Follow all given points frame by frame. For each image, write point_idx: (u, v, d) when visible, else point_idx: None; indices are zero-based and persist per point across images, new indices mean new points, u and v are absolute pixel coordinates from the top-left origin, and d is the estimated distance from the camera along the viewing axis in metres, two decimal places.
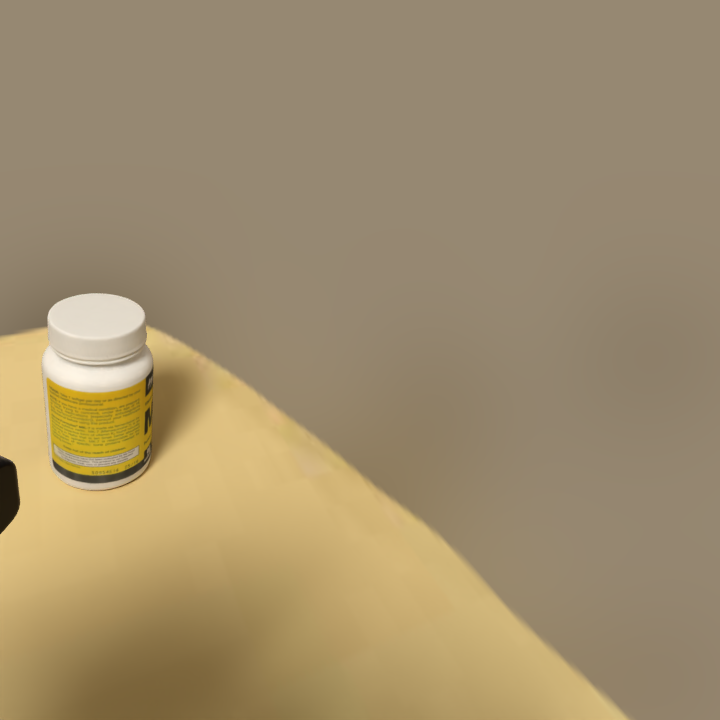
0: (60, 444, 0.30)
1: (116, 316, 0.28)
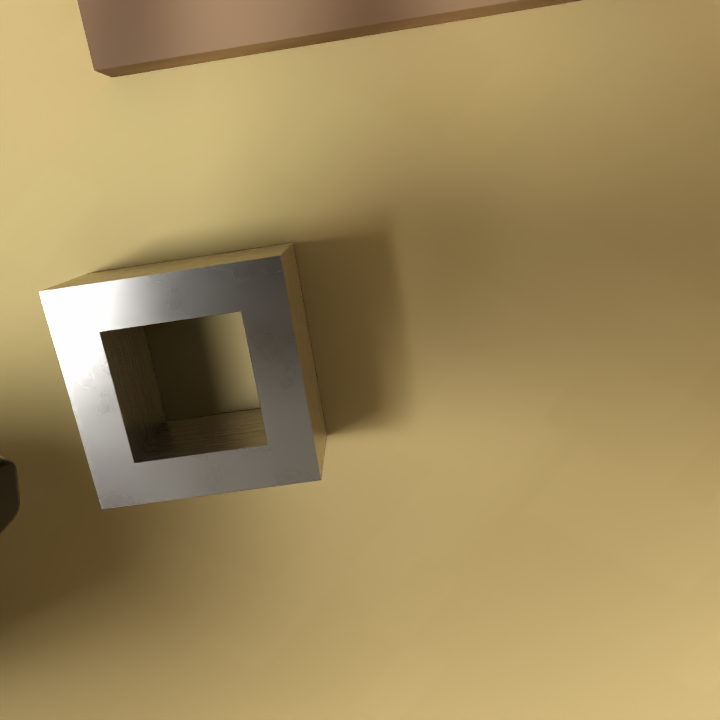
0: None
1: None
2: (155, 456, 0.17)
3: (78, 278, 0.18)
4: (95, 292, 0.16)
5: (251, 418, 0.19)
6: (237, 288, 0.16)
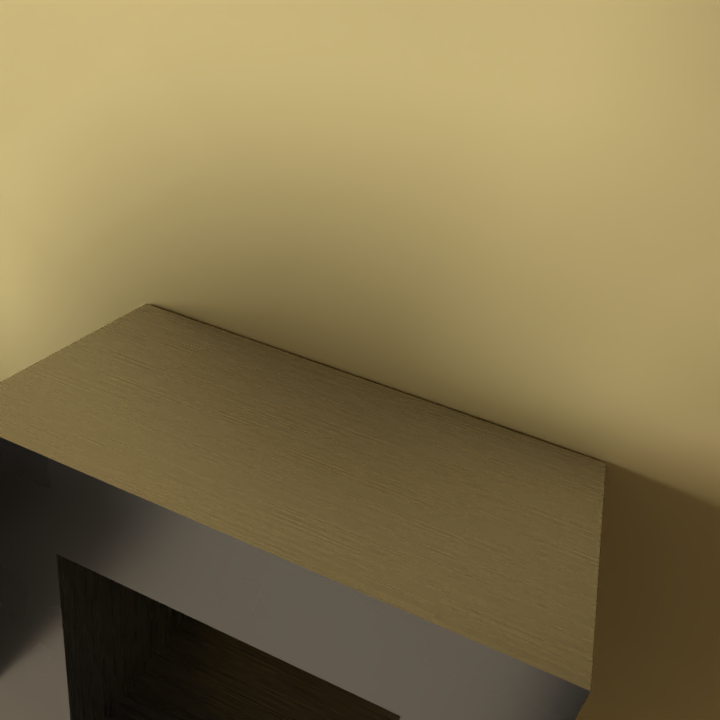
0: None
1: None
2: None
3: (101, 338, 0.08)
4: (65, 482, 0.06)
5: (344, 705, 0.09)
6: (416, 670, 0.05)
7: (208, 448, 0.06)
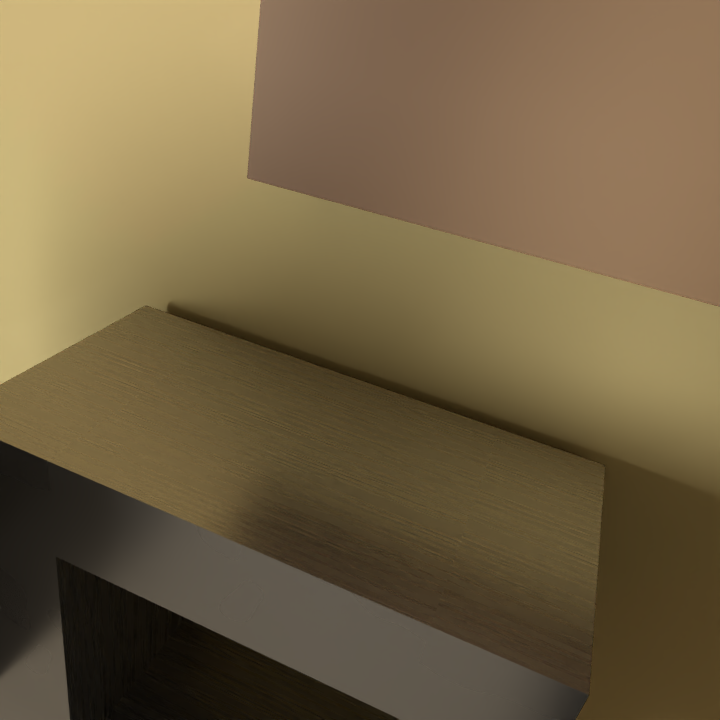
0: None
1: None
2: None
3: (100, 340, 0.08)
4: (64, 484, 0.06)
5: (343, 707, 0.09)
6: (415, 673, 0.05)
7: (207, 451, 0.06)
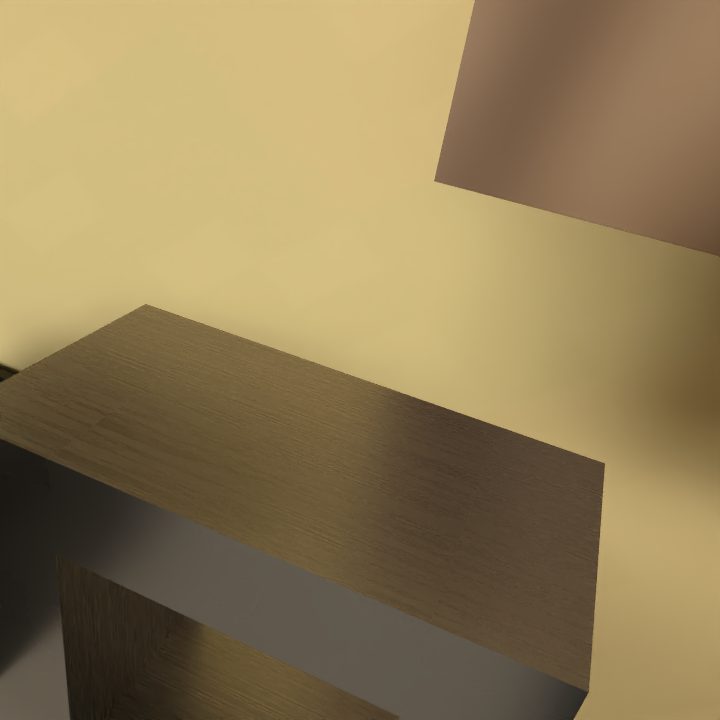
0: None
1: None
2: None
3: (100, 338, 0.08)
4: (64, 483, 0.06)
5: (343, 705, 0.09)
6: (414, 670, 0.05)
7: (207, 449, 0.06)
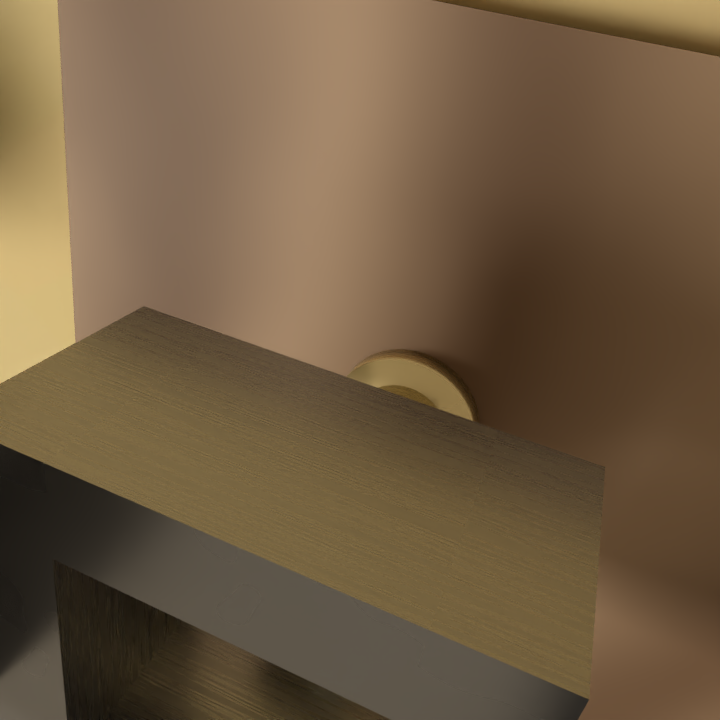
0: None
1: None
2: None
3: (97, 341, 0.08)
4: (61, 486, 0.06)
5: (342, 709, 0.09)
6: (414, 676, 0.05)
7: (205, 453, 0.06)
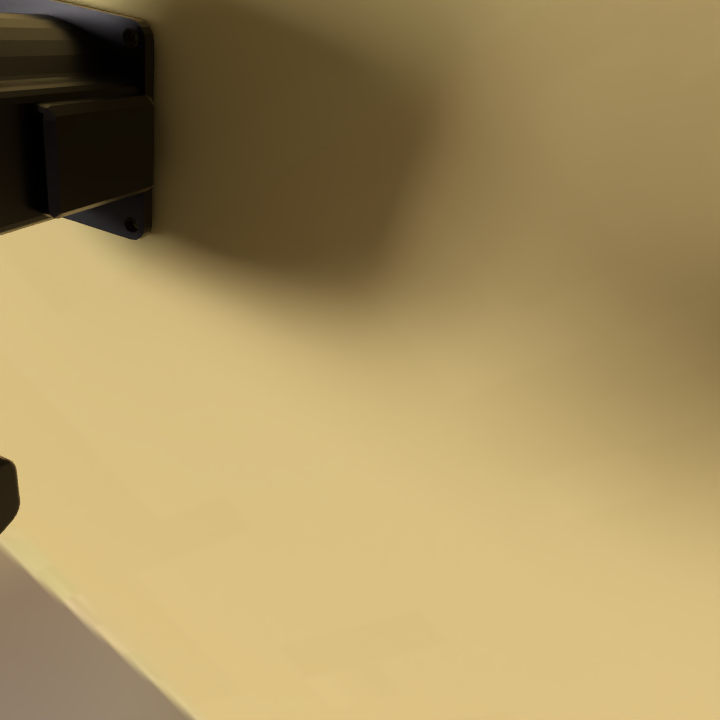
0: None
1: None
2: None
3: None
4: None
5: None
6: None
7: None
